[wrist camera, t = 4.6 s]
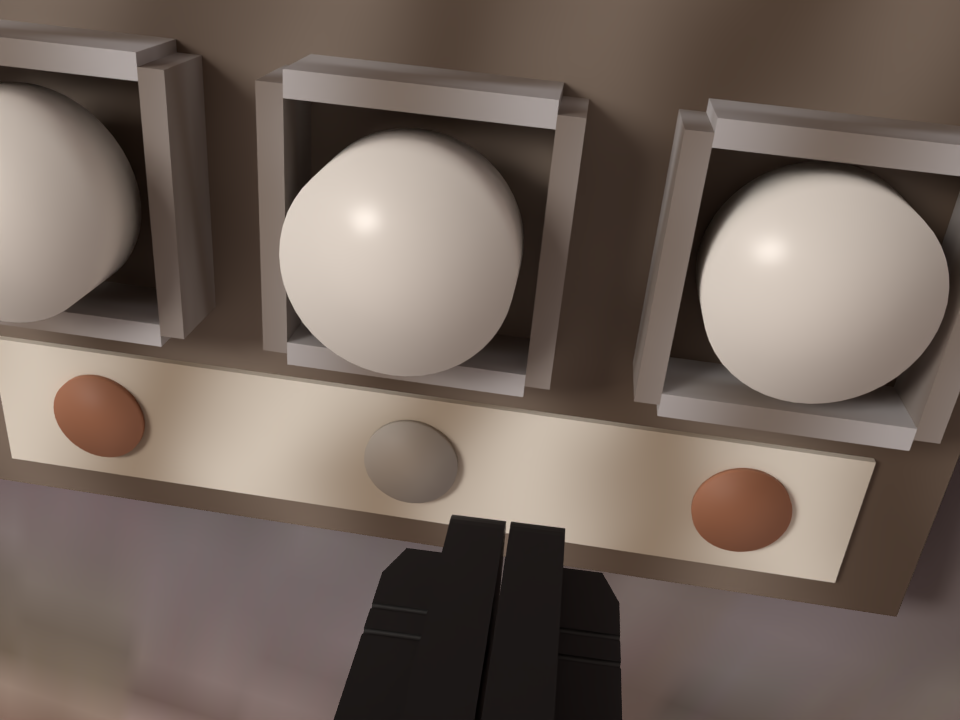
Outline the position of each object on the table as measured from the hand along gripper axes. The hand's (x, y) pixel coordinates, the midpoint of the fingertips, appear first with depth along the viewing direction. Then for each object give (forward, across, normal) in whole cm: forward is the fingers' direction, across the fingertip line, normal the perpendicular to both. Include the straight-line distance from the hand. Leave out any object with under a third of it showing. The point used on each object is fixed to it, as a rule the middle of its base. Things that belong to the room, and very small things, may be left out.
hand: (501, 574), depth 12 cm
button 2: (+11, -6, -1) cm, 13 cm away
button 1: (+10, +12, -1) cm, 16 cm away
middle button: (+10, +3, -1) cm, 11 cm away
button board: (+14, +3, +1) cm, 14 cm away
